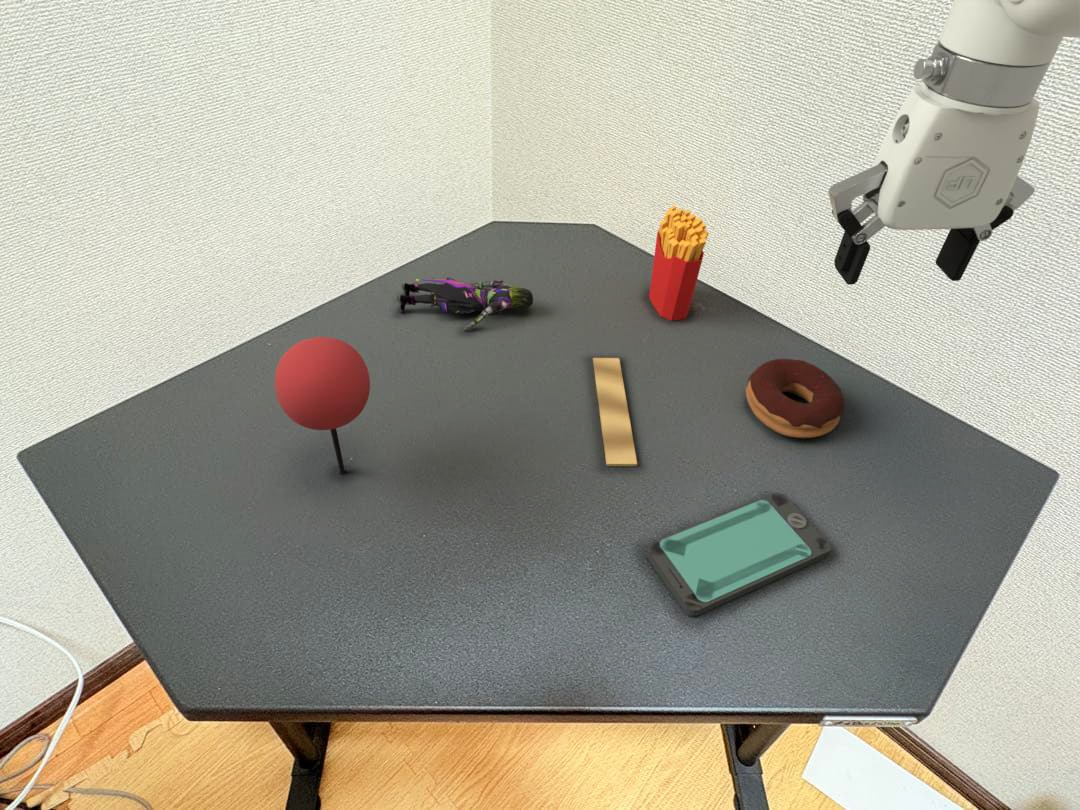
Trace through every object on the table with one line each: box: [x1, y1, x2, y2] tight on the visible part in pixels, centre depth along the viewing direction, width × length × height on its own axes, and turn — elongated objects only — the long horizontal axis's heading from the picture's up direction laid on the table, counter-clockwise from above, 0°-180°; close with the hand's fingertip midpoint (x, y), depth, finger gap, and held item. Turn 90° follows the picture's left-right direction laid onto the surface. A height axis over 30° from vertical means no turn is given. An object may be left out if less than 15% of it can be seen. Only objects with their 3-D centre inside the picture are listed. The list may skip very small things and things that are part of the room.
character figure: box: [397, 277, 534, 331], centre depth 87 cm, size 9×4×16 cm
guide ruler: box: [592, 357, 638, 467], centre depth 76 cm, size 16×3×1 cm, turn 2°
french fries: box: [648, 204, 709, 322], centre depth 86 cm, size 8×4×12 cm, turn 15°
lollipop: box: [274, 336, 371, 476], centre depth 64 cm, size 8×8×15 cm
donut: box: [745, 357, 846, 439], centre depth 76 cm, size 10×10×4 cm
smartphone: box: [645, 492, 831, 618], centre depth 63 cm, size 7×1×15 cm
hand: (895, 274), depth 65 cm, fingers open, 9 cm apart
